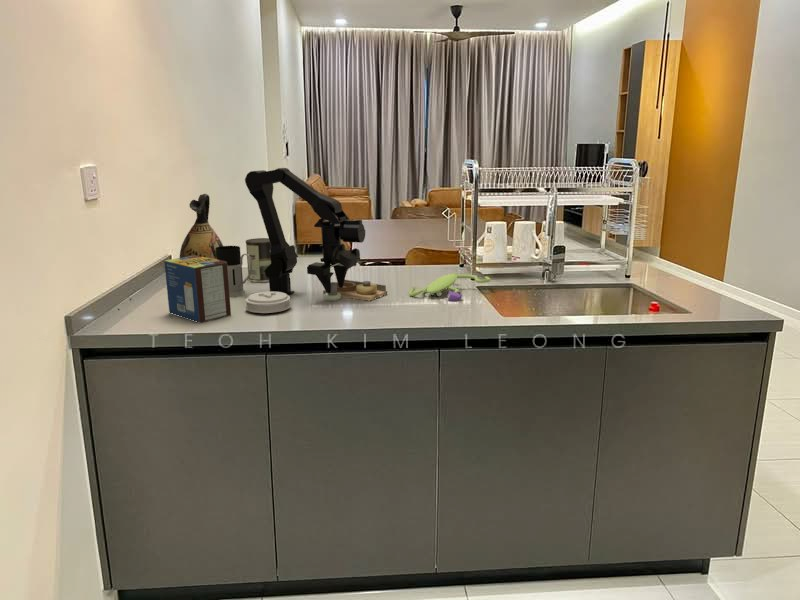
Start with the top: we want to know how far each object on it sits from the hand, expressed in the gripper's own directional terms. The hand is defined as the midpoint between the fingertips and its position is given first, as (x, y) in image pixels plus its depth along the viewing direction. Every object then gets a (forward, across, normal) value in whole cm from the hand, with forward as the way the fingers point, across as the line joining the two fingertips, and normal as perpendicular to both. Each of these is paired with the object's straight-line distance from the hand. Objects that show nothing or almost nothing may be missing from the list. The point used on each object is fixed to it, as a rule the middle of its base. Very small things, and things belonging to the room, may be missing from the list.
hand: (334, 290), depth 190 cm
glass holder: (+2, -13, +29) cm, 32 cm away
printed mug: (+3, +8, +38) cm, 39 cm away
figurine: (+5, +25, -28) cm, 38 cm away
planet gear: (+2, -2, 0) cm, 3 cm away
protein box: (0, -35, +21) cm, 41 cm away
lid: (+1, -21, +8) cm, 23 cm away
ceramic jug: (+2, -3, +55) cm, 55 cm away
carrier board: (+3, +6, -3) cm, 8 cm away
